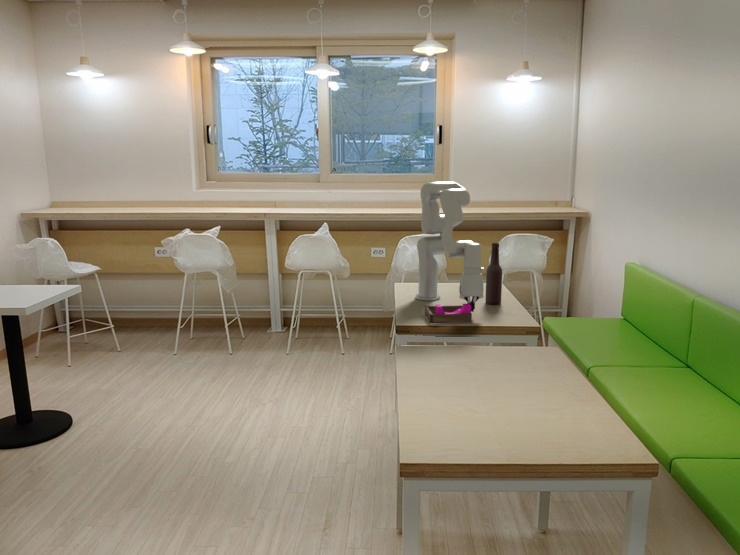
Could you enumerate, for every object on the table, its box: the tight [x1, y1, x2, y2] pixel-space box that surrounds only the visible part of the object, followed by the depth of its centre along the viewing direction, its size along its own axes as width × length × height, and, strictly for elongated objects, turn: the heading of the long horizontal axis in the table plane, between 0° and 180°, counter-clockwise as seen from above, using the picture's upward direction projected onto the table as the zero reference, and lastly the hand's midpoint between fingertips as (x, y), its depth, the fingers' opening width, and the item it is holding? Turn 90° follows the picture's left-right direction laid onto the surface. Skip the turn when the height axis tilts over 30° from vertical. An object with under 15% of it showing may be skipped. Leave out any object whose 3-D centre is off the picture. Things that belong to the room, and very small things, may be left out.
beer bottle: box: [485, 242, 503, 306], centre depth 285 cm, size 8×8×30 cm
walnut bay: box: [424, 304, 473, 324], centre depth 262 cm, size 15×18×4 cm
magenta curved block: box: [435, 302, 472, 314], centre depth 259 cm, size 15×6×8 cm, turn 97°
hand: (470, 310), depth 262 cm, fingers closed
